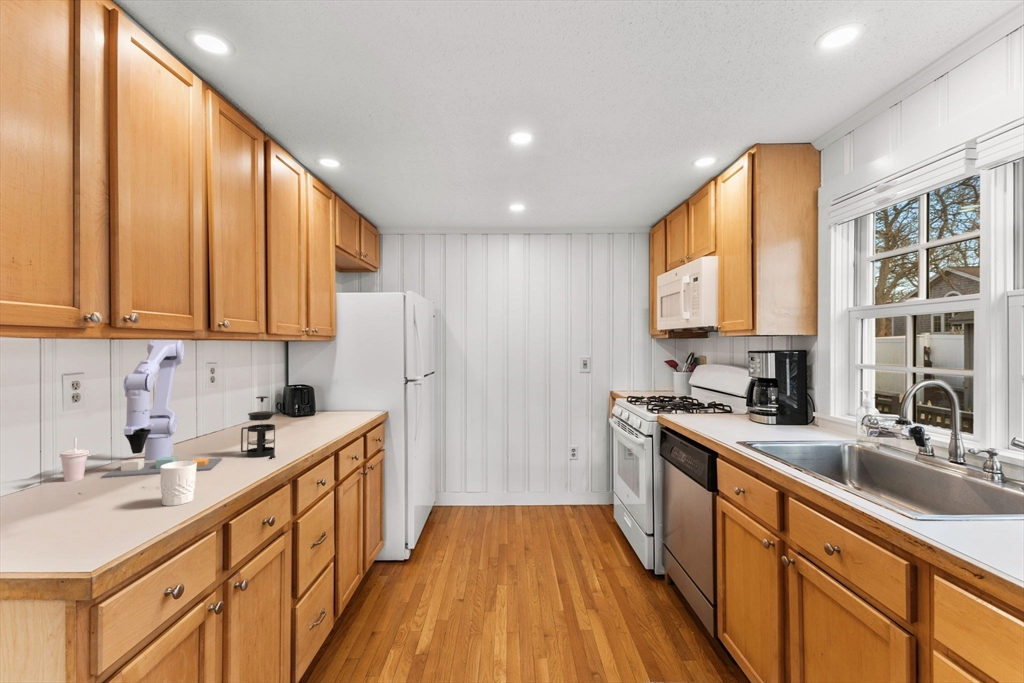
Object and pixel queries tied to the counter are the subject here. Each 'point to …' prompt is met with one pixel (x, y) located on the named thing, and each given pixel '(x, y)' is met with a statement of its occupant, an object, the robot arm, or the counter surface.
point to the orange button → (201, 461)
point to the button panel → (151, 469)
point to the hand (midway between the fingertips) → (137, 453)
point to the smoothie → (74, 463)
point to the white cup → (178, 482)
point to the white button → (132, 464)
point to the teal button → (165, 461)
